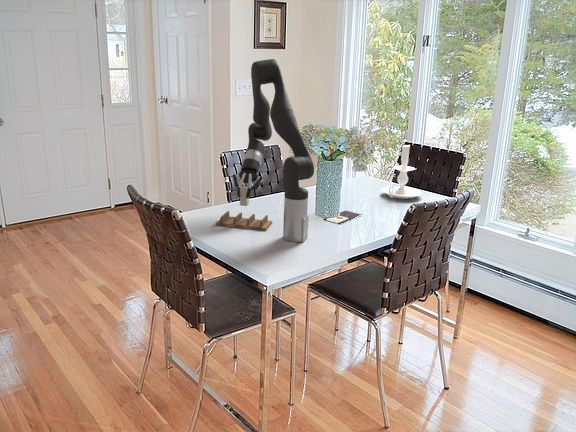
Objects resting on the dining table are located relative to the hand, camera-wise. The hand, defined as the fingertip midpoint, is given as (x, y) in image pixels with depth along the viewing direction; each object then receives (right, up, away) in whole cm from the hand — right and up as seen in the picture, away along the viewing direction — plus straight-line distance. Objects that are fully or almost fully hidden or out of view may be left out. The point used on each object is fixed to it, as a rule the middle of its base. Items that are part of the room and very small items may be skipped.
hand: (243, 196), depth 219 cm
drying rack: (0, -12, +6) cm, 13 cm away
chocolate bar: (+44, -9, +20) cm, 49 cm away
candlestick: (+77, +2, +57) cm, 96 cm away
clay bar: (0, -3, +3) cm, 5 cm away
